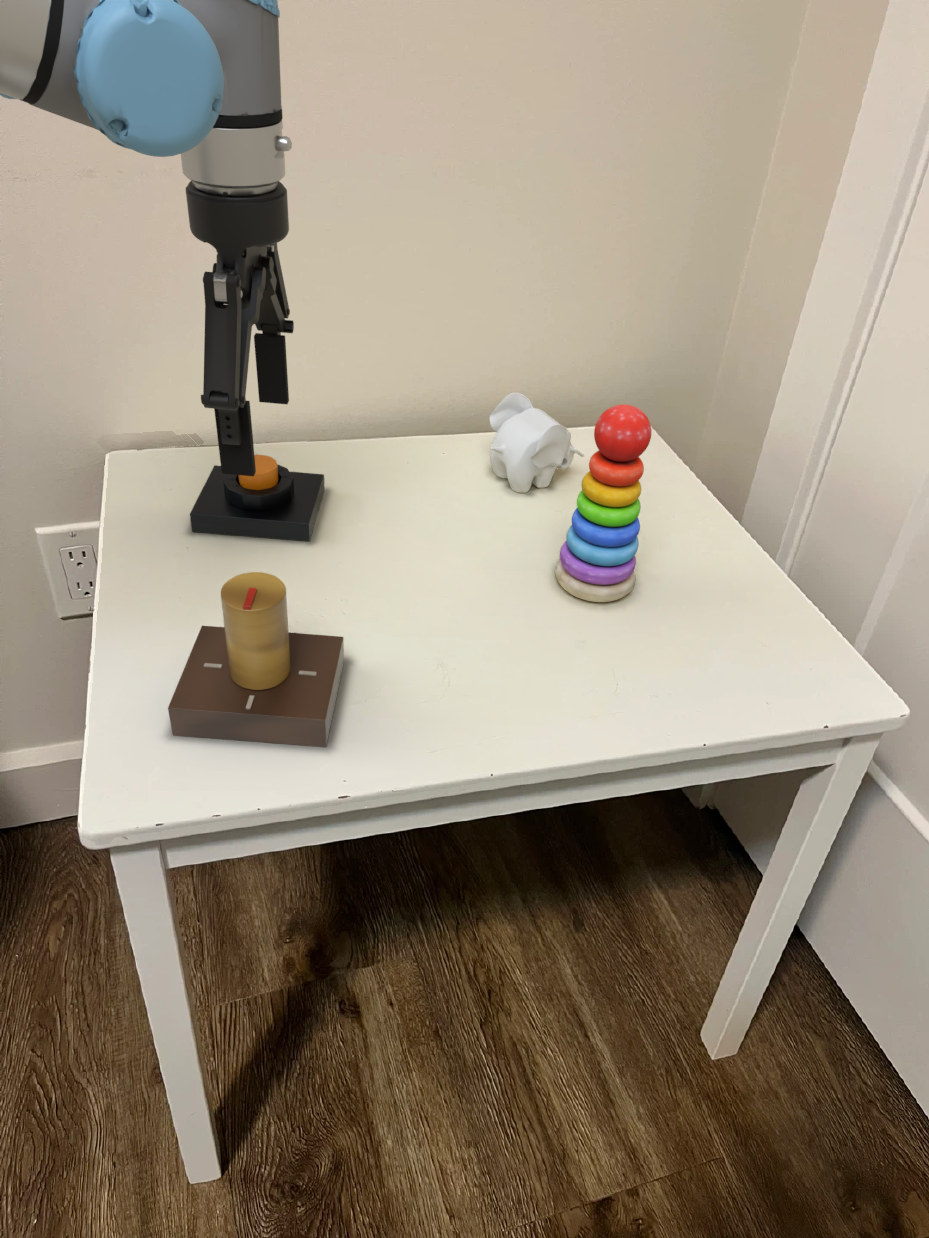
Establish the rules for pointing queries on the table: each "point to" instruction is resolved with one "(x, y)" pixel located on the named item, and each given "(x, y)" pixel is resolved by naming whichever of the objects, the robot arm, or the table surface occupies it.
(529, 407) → the elephant figurine
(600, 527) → the stacking toy
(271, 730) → the plate
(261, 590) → the lock knob
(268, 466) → the bell button
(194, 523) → the block
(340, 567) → the table surface
